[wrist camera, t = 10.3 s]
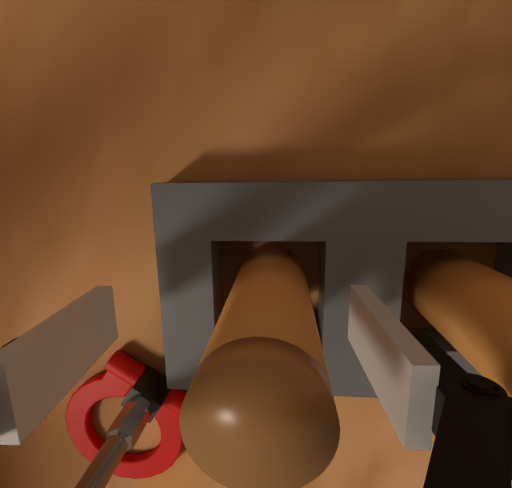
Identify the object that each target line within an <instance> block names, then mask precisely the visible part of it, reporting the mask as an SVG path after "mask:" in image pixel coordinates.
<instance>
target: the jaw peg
mask: <svg viewBox="0 0 512 488" xmlns="http://www.w3.org/2000/svg"><path fill="white" fill-rule="evenodd" d="M179 422H180V432H181V437H182V440H183V443H184V445H185V448H186V450H187V452H188V453H189V455H190V457H191V458H192V459H193V461H194V462H195V463H196V465H197V466H198V467H199V468H200V469H201V470H202V471H203V472H205V473H206V474H207V475H208V476H209V477H211V478H212V479H214V480H215V481H217V482H219V483H221V484H222V485H224V486H226V487H229V488H300V487H303V486H304V485H306V484H308V483H310V482H311V481H313V480H314V479H316V478H317V477H318V476H319V475H320V474H321V473H322V472H323V471H324V470H325V469H326V468H327V467H328V465H329V464H330V462H331V461H332V459H333V457H334V455H335V453H336V450H337V447H338V443H339V437H340V426H339V418H338V414H337V410H336V405H335V401H334V397H333V393H332V388H331V384H330V380H329V375H328V371H327V367H326V362H325V358H324V354H323V349H322V345H321V341H320V336H319V332H318V328H317V324H316V319H315V315H314V311H313V306H312V302H311V298H310V293H309V289H308V285H307V280H306V276H305V272H304V268H303V265H302V263H301V261H300V260H299V258H298V257H297V256H296V255H295V254H294V253H293V252H291V251H290V250H288V249H286V248H284V247H281V246H276V245H268V246H263V247H260V248H257V249H255V250H254V251H252V252H251V253H250V254H249V255H248V256H247V257H246V258H245V260H244V261H243V263H242V266H241V268H240V270H239V273H238V275H237V277H236V280H235V282H234V284H233V287H232V289H231V291H230V293H229V296H228V298H227V300H226V303H225V305H224V307H223V310H222V312H221V314H220V317H219V319H218V321H217V324H216V326H215V328H214V331H213V333H212V335H211V338H210V340H209V342H208V345H207V347H206V349H205V352H204V354H203V356H202V359H201V361H200V363H199V366H198V368H197V370H196V373H195V375H194V377H193V379H192V382H191V384H190V386H189V389H188V391H187V393H186V396H185V398H184V401H183V403H182V407H181V411H180V420H179Z"/></svg>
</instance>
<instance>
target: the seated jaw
mask: <svg viewBox="0 0 512 488" xmlns="http://www.w3.org/2000/svg"><path fill="white" fill-rule="evenodd" d="M404 291H405V295H406V297H407V299H408V301H409V302H410V303H411V304H412V305H413V306H414V307H415V308H416V309H417V310H418V311H419V312H420V313H421V314H422V316H423V317H424V318H425V319H426V320H427V321H428V322H429V323H430V324H431V325H432V326H433V327H434V328H435V329H436V330H437V331H438V332H439V333H440V334H441V335H442V336H443V337H444V338H445V339H446V340H447V341H448V342H449V343H450V344H451V345H452V346H453V347H454V348H455V349H456V350H457V351H458V352H459V353H460V354H461V355H462V356H463V357H464V358H465V359H466V360H467V361H468V362H469V363H470V364H471V365H472V366H473V367H474V368H475V369H476V370H477V371H478V372H479V373H480V374H481V375H482V376H483V377H486V378H489V379H491V380H492V381H494V382H496V383H498V384H499V385H500V386H501V387H502V388H504V389H505V390H506V393H507V395H508V397H512V278H511V277H509V276H507V275H504V274H502V273H500V272H498V271H496V270H493V269H491V268H489V267H487V266H485V265H482V264H480V263H478V262H476V261H474V260H471V259H469V258H467V257H465V256H463V255H460V254H458V253H456V252H453V251H449V250H436V251H432V252H428V253H426V254H424V255H422V256H421V257H419V258H418V259H416V260H415V261H414V262H413V263H412V265H411V266H410V267H409V269H408V271H407V273H406V275H405V279H404Z"/></svg>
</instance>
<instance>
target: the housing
mask: <svg viewBox="0 0 512 488" xmlns="http://www.w3.org/2000/svg"><path fill="white" fill-rule="evenodd" d="M151 194H152V207H153V219H154V231H155V243H156V256H157V268H158V280H159V293H160V305H161V317H162V329H163V342H164V354H165V366H166V379H167V389H184V390H188V389H189V386H190V384H191V382H192V379H193V377H194V375H195V373H196V370H197V368H198V366H199V363H200V361H201V359H202V356H203V354H204V352H205V349H206V347H207V345H208V342H209V340H210V338H211V335H212V333H213V331H214V328H215V326H216V324H217V321H218V319H219V317H220V314H221V312H222V283H221V256H220V241H320V264H319V295H318V326H317V328H318V332H319V336H320V341H321V345H322V349H323V354H324V358H325V362H326V367H327V371H328V375H329V380H330V384H331V388H332V393H333V396H351V397H375V398H378V397H377V395H376V393H375V391H374V389H373V387H372V385H371V383H370V381H369V379H368V377H367V375H366V373H365V371H364V369H363V367H362V365H361V363H360V361H359V359H358V357H357V355H356V353H355V351H354V349H353V347H352V345H351V343H350V341H349V339H348V320H349V300H350V285H367V286H368V287H369V288H370V289H371V291H372V292H373V293H374V294H375V295H376V296H377V297H378V298H379V299H380V300H381V301H382V302H383V304H384V305H385V306H386V307H387V308H388V309H389V310H390V311H391V312H392V313H393V314H394V316H395V317H396V318H397V319H398V320H399V321H400V314H401V303H402V292H403V281H404V270H405V260H406V249H407V242H499V245H498V251H497V258H496V264H495V270H496V271H498V272H500V273H502V274H504V275H507V276H509V277H511V278H512V179H427V180H327V181H226V182H162V183H151ZM407 330H408V331H409V332H421V333H423V334H425V335H427V336H429V337H430V338H432V339H433V340H434V341H435V342H436V343H437V344H438V345H439V346H440V348H442V349H443V350H445V351H446V352H447V355H450V356H451V357H452V358H453V359H454V360H455V361H456V362H457V363H458V364H459V365H460V366H461V367H462V368H463V369H464V370H465V371H466V372H467V373H472V374H477V375H481V374H480V373H479V372H478V371H477V370H476V369H475V368H474V367H473V366H472V365H471V364H470V363H469V362H468V361H467V360H466V359H465V358H464V357H463V356H462V355H461V354H460V353H459V352H458V351H457V350H456V349H455V348H454V347H453V346H452V345H451V344H450V343H449V342H448V341H447V340H446V339H445V338H444V337H443V336H442V335H441V334H440V333H439V332H438V331H437V330H433V329H407ZM481 376H482V375H481Z"/></svg>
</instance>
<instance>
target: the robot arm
mask: <svg viewBox="0 0 512 488" xmlns="http://www.w3.org/2000/svg"><path fill="white" fill-rule="evenodd" d="M117 338H118V333H117V325H116V316H115V307H114V298H113V290H112V286H96V287H95V288H93V289H92V290H90V291H89V292H87V293H85V294H84V295H82V296H81V297H79V298H78V299H76V300H75V301H73V302H72V303H70V304H69V305H67V306H66V307H64V308H63V309H61V310H59V311H58V312H56V313H55V314H53V315H52V316H50V317H49V318H47V319H46V320H44V321H43V322H41V323H40V324H38V325H37V326H35V327H34V328H32V329H30V330H29V331H27V332H26V333H24V334H23V335H21V336H20V337H17V338H15V339H13V340H12V341H10V342H8V343H7V344H5V345H4V346H2V348H0V445H20V444H21V443H22V442H23V441H24V440H25V439H26V438H27V437H28V436H29V435H30V433H31V432H32V431H33V430H34V429H35V428H36V427H37V426H38V425H39V424H40V423H41V421H42V420H43V419H44V418H45V417H46V416H47V415H48V414H49V413H50V412H51V410H52V409H53V408H54V407H55V406H56V405H57V404H58V403H59V402H60V401H61V400H62V398H63V397H64V396H65V395H66V394H67V393H68V392H69V391H70V390H71V389H72V387H73V386H74V385H75V384H76V383H77V382H78V381H79V380H80V379H81V378H82V376H83V375H84V374H85V373H86V372H87V371H88V370H89V369H90V368H91V367H92V366H93V364H94V363H95V362H96V361H97V360H98V359H99V358H100V357H101V356H102V355H103V353H104V352H105V351H106V350H107V349H108V348H109V347H110V346H111V345H112V344H113V343H114V341H115V340H116V339H117ZM348 339H349V341H350V343H351V345H352V347H353V349H354V351H355V353H356V355H357V357H358V359H359V361H360V363H361V365H362V367H363V369H364V371H365V373H366V375H367V377H368V379H369V381H370V383H371V385H372V387H373V389H374V391H375V393H376V395H377V397H378V399H379V401H380V403H381V405H382V407H383V409H384V411H385V413H386V415H387V417H388V419H389V421H390V423H391V425H392V427H393V429H394V431H395V433H396V435H397V437H398V439H399V441H400V443H401V444H402V446H403V448H404V450H431V443H432V434H433V433H434V435H435V436H436V437H435V441H434V446H433V450H432V454H431V458H430V462H429V466H428V470H427V474H426V479H425V483H424V487H423V488H511V480H512V397H508V395H507V393H506V390H505V389H504V388H502V387H501V386H500V385H499V384H498V383H496V382H494V381H492V380H491V379H489V378H486V377H483V376H481V375H477V374H472V373H467V372H466V371H465V370H464V369H463V368H462V367H461V366H460V365H459V364H458V363H457V362H456V361H455V360H454V359H453V358H452V357H451V356H450V355H447V352H446V351H445V350H443V349H442V348H440V346H439V345H438V344H437V343H436V342H435V341H434V340H433V339H432V338H430V337H429V336H427V335H425V334H423V333H421V332H409V331H408V330H407V329H406V328H405V326H404V325H403V324H402V323H401V322H400V321H399V320H398V319H397V318H396V317H395V316H394V314H393V313H392V312H391V311H390V310H389V309H388V308H387V307H386V306H385V305H384V304H383V302H382V301H381V300H380V299H379V298H378V297H377V296H376V295H375V294H374V293H373V292H372V291H371V289H370V288H369V287H368V286H367V285H350V300H349V320H348Z"/></svg>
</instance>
